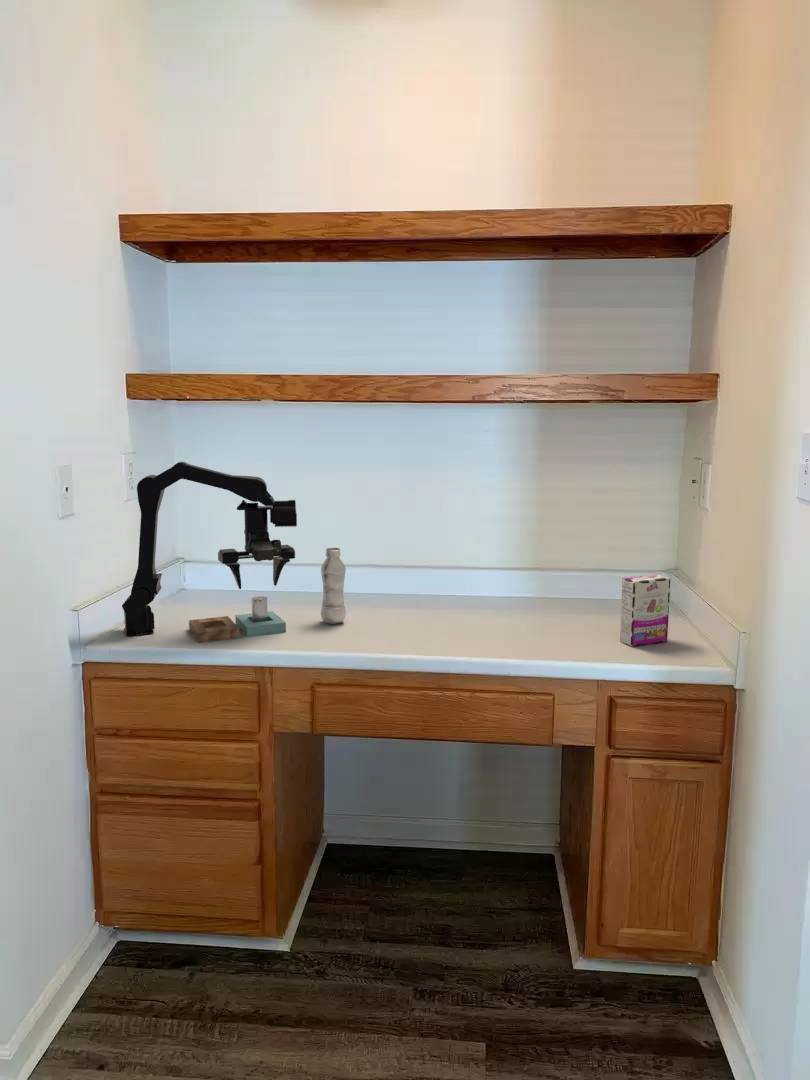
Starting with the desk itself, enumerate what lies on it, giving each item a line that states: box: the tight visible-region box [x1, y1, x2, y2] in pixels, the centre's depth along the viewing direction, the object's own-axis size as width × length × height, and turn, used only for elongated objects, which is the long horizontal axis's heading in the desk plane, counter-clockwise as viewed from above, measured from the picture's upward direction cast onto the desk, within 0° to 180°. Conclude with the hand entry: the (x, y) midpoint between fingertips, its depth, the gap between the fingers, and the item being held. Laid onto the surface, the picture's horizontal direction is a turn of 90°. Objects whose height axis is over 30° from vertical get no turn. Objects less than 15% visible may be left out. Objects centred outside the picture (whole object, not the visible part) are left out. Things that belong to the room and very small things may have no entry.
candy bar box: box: [619, 574, 671, 647], centre depth 194 cm, size 11×5×16 cm, turn 112°
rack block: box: [235, 611, 287, 638], centre depth 204 cm, size 10×12×2 cm
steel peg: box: [251, 595, 269, 623], centre depth 203 cm, size 4×4×8 cm
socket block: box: [188, 615, 240, 644], centre depth 199 cm, size 10×12×2 cm
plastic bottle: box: [320, 547, 347, 624], centre depth 208 cm, size 6×7×20 cm
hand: (257, 587), depth 202 cm, fingers open, 9 cm apart
